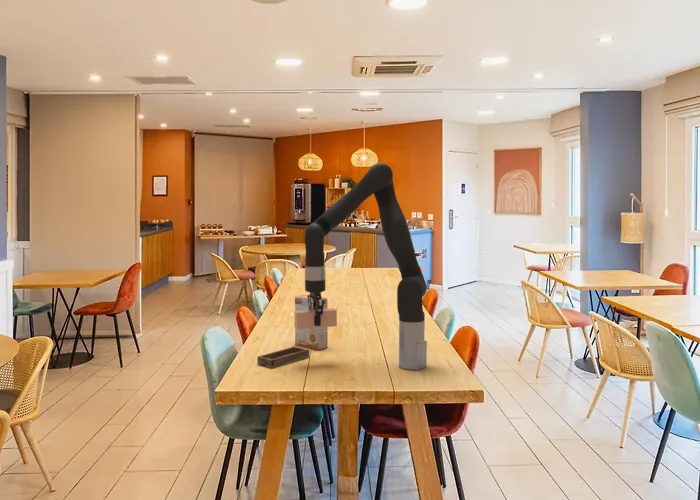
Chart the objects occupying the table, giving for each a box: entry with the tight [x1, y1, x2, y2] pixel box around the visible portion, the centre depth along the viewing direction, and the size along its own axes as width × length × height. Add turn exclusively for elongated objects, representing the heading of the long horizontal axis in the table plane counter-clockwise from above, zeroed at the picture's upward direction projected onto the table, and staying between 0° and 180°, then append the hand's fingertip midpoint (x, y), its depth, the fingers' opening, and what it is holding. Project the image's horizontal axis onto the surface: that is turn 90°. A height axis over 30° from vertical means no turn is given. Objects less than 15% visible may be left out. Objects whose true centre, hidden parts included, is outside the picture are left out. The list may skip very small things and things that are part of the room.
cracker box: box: [294, 294, 329, 351], centre depth 239 cm, size 14×6×21 cm, turn 47°
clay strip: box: [294, 308, 338, 329], centre depth 213 cm, size 15×4×6 cm, turn 109°
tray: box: [257, 345, 310, 369], centre depth 219 cm, size 8×19×3 cm, turn 140°
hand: (315, 324), depth 214 cm, fingers closed on clay strip, 4 cm apart
